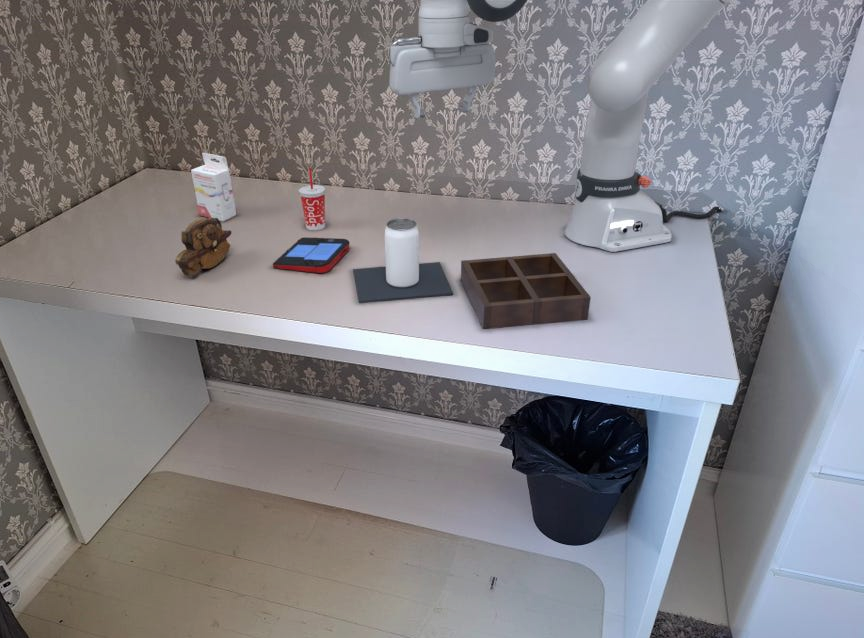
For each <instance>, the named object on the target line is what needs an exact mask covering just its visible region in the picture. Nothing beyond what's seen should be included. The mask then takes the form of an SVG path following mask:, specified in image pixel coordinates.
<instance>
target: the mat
mask: <svg viewBox="0 0 864 638" xmlns="http://www.w3.org/2000/svg"><path fill="white" fill-rule="evenodd" d="M442 266H443V265H442V264H441V262H440V261H436V262H434V261H433V262H424V263H423V262H422V263H419V281H418V282H417V283H416V284H415V285H414V286H411V287H407V288H397V287H393V286H391V285H389V283H388V282H387V281H386V266H374V267H362V268H361V267H360V268H353V270H352V271H353V276H354V282H355V287H356V288H355V289H356V293H357V298H358V303H359V304H362V303H364V304H366V303H375V302H386V301H387V302H388V301H398V300H411V299H422V298H434V297H445V296H453V295H454V292H453V290H452V289H453V288H452V287H451V285H450V282H449V280H448V278H447V276H446V273H445V271H444V269H443V267H442Z"/></svg>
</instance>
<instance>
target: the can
mask: <svg viewBox="0 0 864 638" xmlns="http://www.w3.org/2000/svg"><path fill="white" fill-rule="evenodd" d="M419 239H420V236H419V229H418V227H417V221H415V220H414V219H411V218H406V217H405V218H404V217H402V218H401V217H400V218H399V217H398V218H393V219H390V220H388V221H387V222H386V227H385V230H384V258H385V261H384V262H385V267H386V281H387V282H388V283H389V285H391V286H393V287H397V288H407V287H411V286H414V285H415V284H416V283H417V282H418V281H419V264H420V243H419V242H420V240H419Z"/></svg>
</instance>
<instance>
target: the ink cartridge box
mask: <svg viewBox="0 0 864 638" xmlns="http://www.w3.org/2000/svg"><path fill="white" fill-rule="evenodd" d="M201 154H202V155H201V156H202V160H203V163H204V164H203V165H200V166H197V167H194V168H192V169H190V172H191V177H192V183H193V189H194V193H195V199H196V205H197V209H198V210H197V211H198V215H199V216H201V217H205V218H207V219H208V218H209V217H212V218H218V219H219V221H220V222H225V221H227V220H230V219H231V218H234V217H235V216H237V210H236V203H235V200H234V193H233V187H232V186H233V185H232V180H231V179H232V178H231V173H230V169H229V166H228V160H227V158H226V156H224V155H223V156H222V155H218V154H212V153H206V152H202V153H201ZM214 159H215V160H216V161H214Z"/></svg>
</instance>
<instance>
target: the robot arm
mask: <svg viewBox="0 0 864 638" xmlns="http://www.w3.org/2000/svg"><path fill="white" fill-rule="evenodd" d="M730 1H731V0H646V1H645V2H644V4H643V5H642V6H641V7H640V8H639V10H638V11H637V12H636V13H635V14H634V16H633V17H632V18H631V19H630V20H629V22H628V23H627V24H626V26H625V27H624V28H623V29H622V30H621V31H620V32H619V33H618V35H617V36H616V37H615V38H614V39H613V41H612V42H611V43H610V44H608V45H607V46H605V48H604V49H603V50H602V51H601V53H600V55H599V56H598V57H597V59H596V60H595V62H594V63H593V64H592V66H591V68H590V70H589V74H588V78H587V89H588V93H589V96H590V102H589V107H588V113H587V119H586V122H585V123H586V124H585V128H584V134H583V142H582V149H581V157H580V165H579V169H577V173H576V174H577V175H576V179H575V183H574V202H573V206H572V210H571V214H570V217H569V220H568V222H567V224H566V227H565V229H564V235H565V237H566V238H567V239H569V240H570V241H572V242H573V243H576V244H578V245H582V246H585V247H590V248H596V249H597V248H598V249H600V250H604V251H606V252H610V253H617V252H623V251H628V250H633V249H639V248H645V247H650V246H655V245H656V246H657V245H661V244H666V243H670V242H672V236H673V235H672V232H671V230H670V229H669V228H668V227H667V226H666V225H665V224H664V223H668V222H669V221H670V220H671V218H672V217H673V216H682V217H686V218H692V219H705V218H708V217H711V216H712V215H713V214H714V213H716V212H717V213H723V210H722V208H721V207H720V206H718V207H717V206H714V207H712V208H711V209H710V210H708V211H707V212H705V213H693V212H688V211H683V210H674V211H670V212H669V213H667V209H666V208H664V207H663V204H660V203H659V202H656V201H655V200H653V199H652V198H651V197H650V196H649V195H648V194H646V193H645V192H644V191H643V190H642V189H641V187H642V188H643V189H645V188H646V189H647V188H649V187H650V186H651V184H652V180H651V179H650V178H648V177H647V176H646V175H642V174H640V173H639V172H637V171H636V167H637V159H638V154H639V148H640V144H641V143H640V141H641V136H642V132H643V131H642V130H643V125H644V119H645V114H646V109H647V103H648V98H649V92H650V89H651V88H652V87H653V86H654V85H655V84H656V82H658V80H660V78H661V77H662V76H663V75H664V74H665V72H666V71H667V70H668V69H669V68H670V67H671V65H672V64H673V63H674V62H675V61H676V59H678V57H680V56H681V54H682V53H683V51H684V50H685V49H686V48H687V47H688V46H689V44H691V42H692V41H693V40H694V39H695V38H696V37H697V36H698V35H699V34H700V33H701V32H702V31H703V30H704V29H705V27H706V26H707V25H709V23H710V22H711V21H712V20H713V19H714V18H715V17H716V16H717V14H719V12H721V10H723V8H724V7H725V6H726V5H727V4H728V3H729V2H730ZM527 2H528V0H420V5H419V10H418V15H417V16H418V18H417V19H418V21H417V22H418V36H411V37H406V38H405V37H400V38H397V39H396V41H394V42H393V43H392V44H391V45H390V47H389V50H388V55H389V62H390V66H389V67H390V68H389V81H388V82H389V83H388V86H389V89H390V90H391V92H392V93H393V94H395V95H396V96H407V99H408V101H409V102H410V104H411V106H412V107H413V117H414V118H416V119H423V118H425V117H426V114H425V112H426V107H423V106H421V105H420V104H419V102H418V100H420V94H423V93H430V92H440V91H448V90H457V89H463V88H464V91H465V92H466V93H465V94H464V98H463V100H459V102H458V105H459V106H458V108H459V109H458V110H459V112H461V113H468V112H470V111H471V103H472V101H473V100H474V97H475V96H476V94H477V88H478V87H479V86H480V87H481V86H488V85H492V83H493V81H494V80H495V77H496V51H495V48H494V46H493V45H492V44H491V43H493V41H494V31H493V30H492V29H489V28H487V27H483V26H480V25H478V24H476V23H473V22H469V20H470V19H469V13H470V10H471V11H472V13H473V14H474V15H475V16H477V17H478V18H480V19H481V20H483V21H486V22H490V23H500V22H504V21H507V20H509V19H511V18H513V17H514V16H515V15H516V14H517V13H519V11H520V10H522V8H523V7H524V6H525V4H526V3H527ZM719 208H720V209H719ZM663 222H664V223H663Z"/></svg>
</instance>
